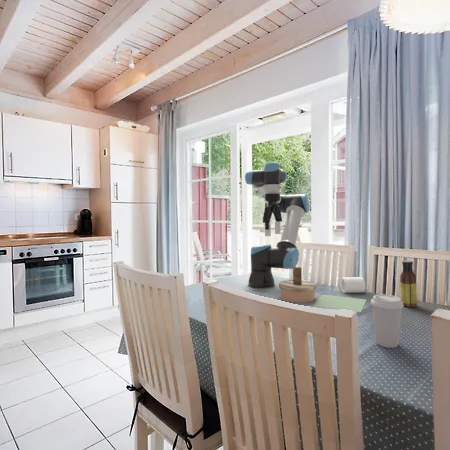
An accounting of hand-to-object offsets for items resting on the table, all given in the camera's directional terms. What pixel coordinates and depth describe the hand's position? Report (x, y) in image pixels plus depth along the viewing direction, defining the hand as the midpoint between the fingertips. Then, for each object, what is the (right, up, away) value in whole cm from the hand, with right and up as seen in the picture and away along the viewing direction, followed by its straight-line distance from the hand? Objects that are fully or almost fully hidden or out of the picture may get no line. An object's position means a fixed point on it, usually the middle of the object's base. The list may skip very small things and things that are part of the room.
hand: (273, 235), depth 162 cm
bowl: (+11, -31, -7) cm, 33 cm away
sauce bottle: (+57, -31, -22) cm, 68 cm away
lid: (+11, -25, -7) cm, 28 cm away
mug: (+41, -30, +4) cm, 51 cm away
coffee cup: (+28, -33, -59) cm, 73 cm away
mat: (+28, -31, -17) cm, 45 cm away
